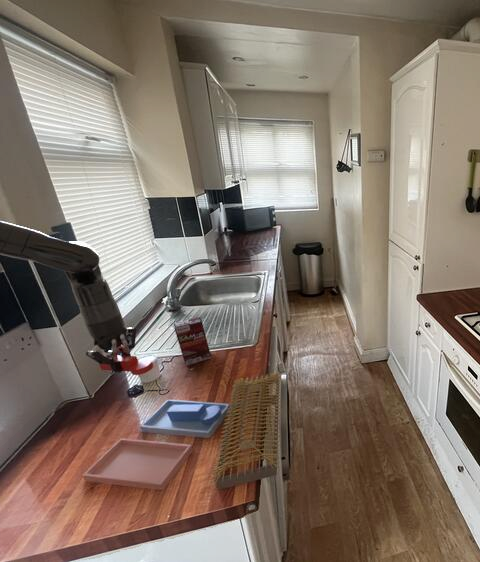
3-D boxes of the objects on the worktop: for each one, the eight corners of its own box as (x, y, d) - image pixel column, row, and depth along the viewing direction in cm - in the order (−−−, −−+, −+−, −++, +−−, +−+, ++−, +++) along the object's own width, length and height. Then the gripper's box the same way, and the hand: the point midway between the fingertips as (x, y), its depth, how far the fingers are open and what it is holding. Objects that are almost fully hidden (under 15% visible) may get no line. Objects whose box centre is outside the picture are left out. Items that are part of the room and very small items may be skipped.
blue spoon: (167, 424, 85) (162, 415, 84) (180, 410, 90) (176, 401, 89) (214, 424, 83) (209, 414, 82) (225, 410, 88) (221, 400, 86)
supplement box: (185, 366, 110) (173, 328, 104) (184, 360, 114) (173, 322, 108) (212, 358, 114) (201, 321, 108) (210, 352, 118) (200, 315, 112)
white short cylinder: (167, 372, 108) (161, 355, 105) (150, 385, 101) (143, 368, 99) (151, 369, 109) (145, 353, 106) (133, 382, 103) (126, 365, 100)
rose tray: (85, 481, 71) (81, 475, 71) (123, 443, 81) (120, 437, 80) (163, 490, 69) (160, 484, 68) (193, 450, 78) (191, 444, 77)
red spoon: (97, 372, 87) (92, 362, 86) (113, 361, 92) (109, 351, 91) (143, 375, 86) (139, 365, 84) (157, 364, 90) (154, 354, 89)
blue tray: (142, 432, 84) (139, 426, 83) (169, 404, 93) (167, 399, 92) (210, 438, 81) (208, 432, 81) (231, 409, 91) (229, 403, 90)
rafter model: (235, 388, 99) (232, 373, 96) (282, 379, 102) (279, 364, 100) (212, 495, 67) (206, 476, 65) (280, 477, 71) (276, 458, 68)
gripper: (113, 303, 89) (132, 353, 96) (62, 328, 76) (89, 383, 83) (136, 304, 88) (154, 354, 95) (89, 329, 75) (113, 385, 82)
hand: (123, 367), depth 89 cm, fingers closed on red spoon, 2 cm apart
